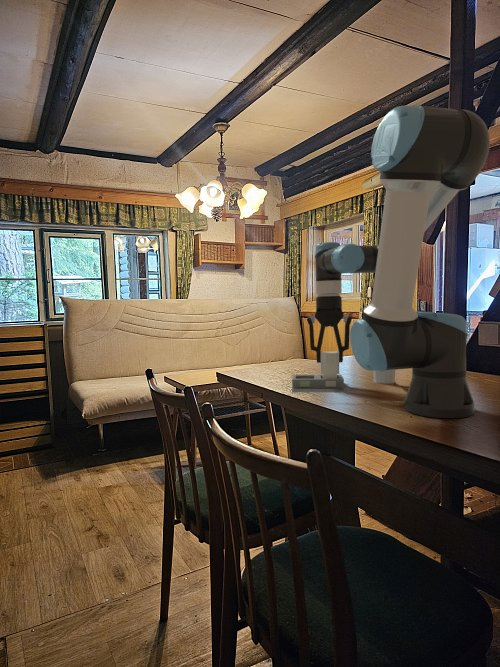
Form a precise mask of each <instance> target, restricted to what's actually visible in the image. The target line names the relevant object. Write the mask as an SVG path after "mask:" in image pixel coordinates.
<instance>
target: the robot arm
mask: <svg viewBox="0 0 500 667" xmlns="http://www.w3.org/2000/svg"><path fill="white" fill-rule="evenodd" d="M490 139H491V138H490V132H489V130H488V127H487V124H486V123H485V121H484V120H483V119H482V118H481V117H480V115H478V114H476V113H475V112H473V111H471V110H467V109H462V108H461V109H459V108H457V109H456V108H455V109H453V108H447V107H446V108H445V107H437V106H427V105H420V104H417V105H415V104H414V105H398V106H396V107H393V109H391V110H390V111H388V112H387V113H386V114H385V116H383V118H382V120H381V122H379V125H378V126H377V129H376V131H375V134H374V136H373V140H372V144H371V150H370V151H371V152H370V158H371V160H372V161H371V165H372V166H373V168H374V169H375V170H376V171H378V172H380V175H379V182H380V183H381V184H382V186H383V187H384V188H385V196H384V197H385V198H384V204H383V209H382V210H383V212H382V218H381V224H380V225H381V228H380V233H379V243H378V244H377V245H357V244H355V243H343V244H342V245H341V244H340V243H339V241H338V242H336V241H335V242H334V241H328V242H327V241H325V242H319V243H317V244H316V246H315V252H314V259H315V262H314V263H315V294H316V295H317V296H316V298H315V306H316V307H315V308H316V310H315V313H314V315H312V316H310V317H307V318H306V321H307V323H308V327H309V329H308V330H309V347H310V350H311V351H314V352H315V353H316V362H317V363H318V364H319V366H320V375H323V352H324V351H321V350H322V347H323V346H322V345H323V340H324V336H325V330H326V328H328V327H332V328H333V331H334V337H335V341H336V347H337V349H338V350H336V353H337V375H340V363H344V362H343V361H344V352H345V351H347V350H349V349H350V346H351V351H352V354H353V357H354V359H355V361H356V362H357V364H358V365H359V366H360V367H361V368H362V369H364V370H366V371H369V372H371V371H372V372H373V371H385V370H395V371H396V370H407V369H409V370H410V369H412V370H411V371H412V375H411V376H412V377H411V381H410V383H409V386H408V389H407V392H406V395H405V397H404V409H405V410H406V411H407V412H408V413H411V414H414V415H418V416H423V417H427V418H436V419H462V418H467V417H471V416H473V415H474V414H475V401H474V398H473V396H472V393H471V389H470V387H469V383H468V381H467V346H468V344H467V343H468V342H467V341H468V340H467V338H468V335H469V334H468V331H467V321H466V319H465V317H464V316H462V315H459V314H455V313H445V312H444V313H443V312H433V311H416V310H415V309H414V308H413V303H414V298H415V291H416V284H417V279H418V278H417V277H418V272H419V265H420V261H421V255H422V248H423V243H424V242H423V241H424V235H425V232H426V231H427V230H428V228H429V227H430V226H431V225H432V224H433V223H434V221H435V220H436V219H437V218H438V216H440V214H441V213H442V212H443V210H444V209H445V208H446V207H447V206H448V204H449V203H451V201H452V200H453V198H455V196H456V195H457V194H458V193H459V192H460V191H463V190H466V189H467V188H469V187H470V185H471V184H472V183H473V182H474V181H475V179H477V177H478V176H479V174H480V173H481V171H482V169H483V167H484V166H485V163H486V162H487V160H488V159H487V158H488V156H489V152H490V144H491V141H490ZM374 273H375V274H374ZM342 274H374V278H373V279H374V280H373V289H372V296H371V302H370V303H369V304H368V305H366V306H365V307H364V308H363V311H362V312H363V313H362V318H359V319H357V320H354V321H353V322H352V320H353V317H352V316H350V315H349V316H348V315H346V314H344V311H343V307H342V306H343V305H342V303H343V302H342V300H343V299H342V298H343V297H342V295H341V294H342V288H343V287H342ZM342 319H343V323H344V338H343V340H344V342H343V343H344V344H343V343H342V339H341V335H340V330H339V326H338V325H339V324H340V322H341V321H342ZM315 320H316V321H318V323H319V325H320V329H319V334H318V340H317V345H316V346H315V334H314V333H315V332H314V331H315V330H314V324H315V322H316V321H315ZM351 322H352V324H351Z"/></svg>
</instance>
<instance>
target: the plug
mask: <svg viewBox="0 0 500 667" xmlns="http://www.w3.org/2000/svg"><path fill="white" fill-rule="evenodd" d="M336 351H337V350H336ZM336 351H335V350H334V351H322V352H323V374H322V375H323V379H337V375H338V374H337V353H336Z"/></svg>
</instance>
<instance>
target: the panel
mask: <svg viewBox="0 0 500 667" xmlns="http://www.w3.org/2000/svg"><path fill="white" fill-rule="evenodd" d="M291 378H292V379H291V382H292V384H291V388H292V389H291V393H346V389H345V383H344V382H345V379H344V377H343V375H342V374H337V379H323V374H293V375H292V377H291Z"/></svg>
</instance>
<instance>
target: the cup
mask: <svg viewBox="0 0 500 667" xmlns="http://www.w3.org/2000/svg"><path fill="white" fill-rule="evenodd" d="M372 376H373V377H372V379H373V383H375V384H380V385H381V384H383V385H391V384H395V380H396V370H385V371H372Z"/></svg>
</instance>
